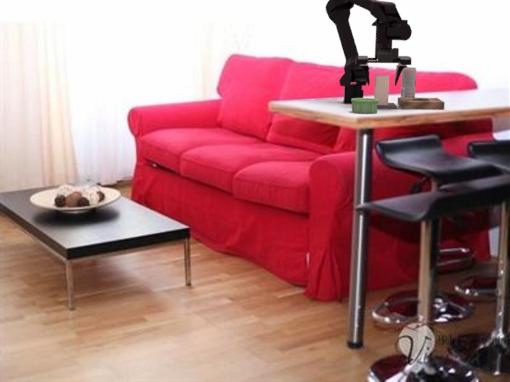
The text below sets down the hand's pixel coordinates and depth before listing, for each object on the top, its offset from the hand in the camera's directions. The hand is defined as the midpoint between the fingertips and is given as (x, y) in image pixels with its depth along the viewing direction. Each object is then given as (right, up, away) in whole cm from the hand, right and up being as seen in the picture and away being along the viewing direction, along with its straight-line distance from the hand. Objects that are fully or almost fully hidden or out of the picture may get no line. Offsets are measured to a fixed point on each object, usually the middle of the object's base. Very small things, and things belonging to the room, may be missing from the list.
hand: (381, 85), depth 266 cm
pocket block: (+14, -7, +3) cm, 16 cm away
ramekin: (-8, -11, -12) cm, 18 cm away
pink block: (0, -6, +2) cm, 7 cm away
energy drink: (+14, -2, +26) cm, 30 cm away
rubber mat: (0, -7, +2) cm, 8 cm away
